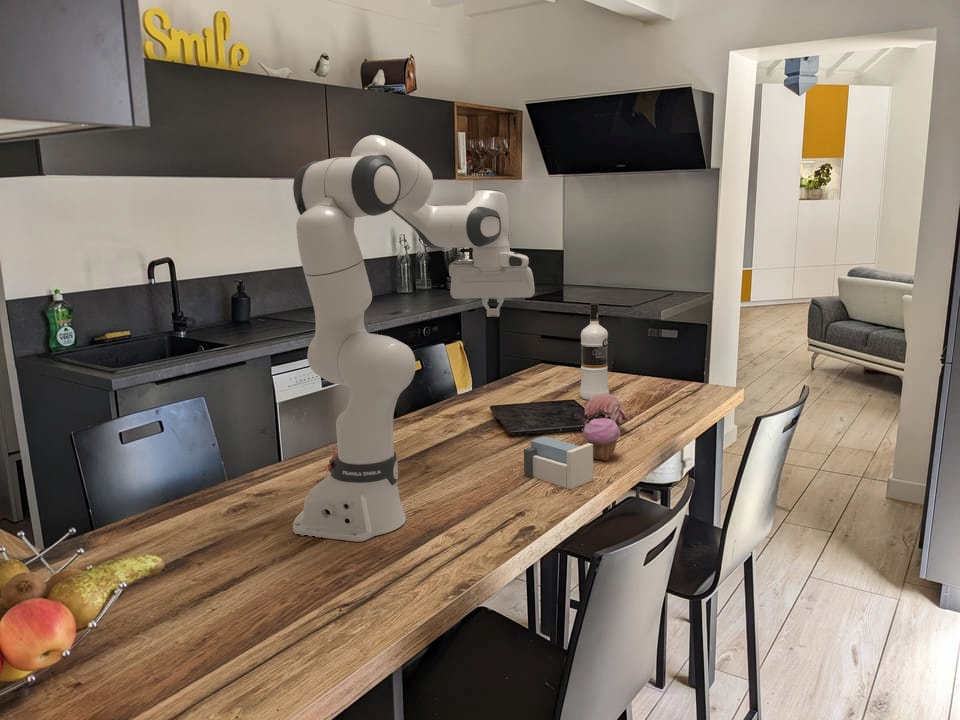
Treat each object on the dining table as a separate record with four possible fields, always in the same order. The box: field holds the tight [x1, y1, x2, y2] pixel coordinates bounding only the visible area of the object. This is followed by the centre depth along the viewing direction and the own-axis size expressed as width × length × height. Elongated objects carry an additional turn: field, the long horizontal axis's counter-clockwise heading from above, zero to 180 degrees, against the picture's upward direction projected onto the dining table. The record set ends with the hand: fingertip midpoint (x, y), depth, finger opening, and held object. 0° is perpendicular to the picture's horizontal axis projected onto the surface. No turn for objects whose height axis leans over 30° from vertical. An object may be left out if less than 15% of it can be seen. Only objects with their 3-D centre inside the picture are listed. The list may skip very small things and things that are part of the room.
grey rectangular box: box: [530, 436, 581, 464], centre depth 179 cm, size 12×4×8 cm, turn 44°
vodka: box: [579, 302, 610, 401], centre depth 244 cm, size 9×9×30 cm
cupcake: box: [582, 418, 621, 462], centre depth 191 cm, size 9×9×10 cm
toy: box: [581, 393, 632, 427], centre depth 210 cm, size 12×11×15 cm
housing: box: [523, 442, 594, 490], centre depth 179 cm, size 13×9×8 cm
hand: (493, 316), depth 189 cm, fingers closed
